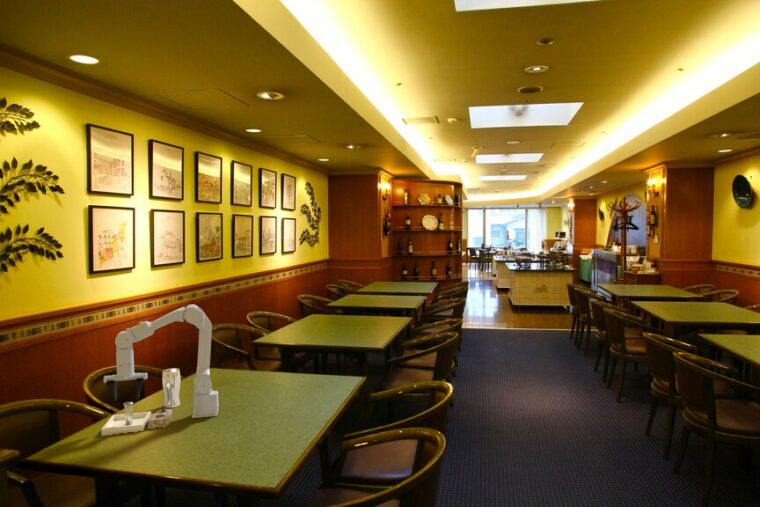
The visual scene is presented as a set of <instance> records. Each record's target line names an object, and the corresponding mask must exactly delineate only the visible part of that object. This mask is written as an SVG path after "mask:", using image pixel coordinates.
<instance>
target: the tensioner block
mask: <svg viewBox="0 0 760 507" xmlns="http://www.w3.org/2000/svg"><path fill="white" fill-rule="evenodd" d="M172 416H173V409H171V408H161V409H159V410H157V411H155V413H151V416H150V418H149V419H148V424H147V429H148V428H150V429H156V428H155V427H159V428H167V427H166V426H168V427H169V425H170V423H171V421H172Z"/></svg>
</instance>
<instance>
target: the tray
mask: <svg viewBox="0 0 760 507" xmlns="http://www.w3.org/2000/svg"><path fill="white" fill-rule="evenodd" d="M151 414H152V411H142V412H132V419H133V424H132V425H125V413H121V414H113V415H112V416H111V417H110V418H109V419H108V420H107V422H105V424H104V425H103V426H102V427H101V429H100V430H101V436H102V437H105V436H113V434H115V435H120V434H119V433H124V434H128V433H127V432H134V433H139V432H138V431H143V432H144V430H145V429H146V427H147V426H148V424H147V423H148V419H149V418H150V416H151ZM145 426H146V427H145ZM144 428H145V429H144Z"/></svg>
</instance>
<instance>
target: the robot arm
mask: <svg viewBox="0 0 760 507" xmlns="http://www.w3.org/2000/svg"><path fill="white" fill-rule="evenodd" d="M184 320H185V322H187V323H189V324H191V325H193V326H195V327H196V328H197V329H198V330H199V332H198V349H197V350H198V351H197V366H196V374H195V376H194V378H193V385H194V390H193V391H192V394H193V395H192V398H193V412H192V415H191V419H198V418H208V417H217V416H218V413H219V409H220V404H219V392H218V391H219V390H213V388H212V387H213V384H212V381H211V378H210V376H211V373H210V368H211V367H210V366H211V350H212V348H211V347H212V333H213V332H212V330H213V324H212V322H211V320H210V319H209V317H208V316H207V315H206V313H205V312H204V310H203V309H202V308H201V307H199V306H198V305H197V304H191V303H190V304H188V305H186V306H182V307H180V308H177V309H175V310H172V311H170V312H169V313H166V314H165V315H162V316H161V317H159V318H157V319H155V320H153V321H148V320H145V321H140V322H138V324H136V325H135V326H133V327H128V328H125V330H122V331H120V332H119V333H117V335H116V337H115V338H114V339H115V340H114V344H115V346H116V348H115V350H116V352H115V355H116V361H115V362H116V374H112V375H104V376H103V383H104V384H105V383H106V385H105V386H106V388H107V389H108V391H109V392H110V394H111V397H112V399H113V402H116V401H117V400H118V391H117V390H118V382H120V381H121V382H123V381H132V380H134V385H135V386H134V387H135V399H136V400H138V399H139V398H140V397H141V396H140V395H141V390H142V388H143V387H142V386H143V384H144V382H145V380H147V379H148V372H135V360H134V349H133V344H134V343H138V342H139V341H142V340H144V339H147V338H148V337H150V336H153V334H154V333H155V331H156V330H157V329H160V328H162V327H164V326H168V324H172V323H173V322H182V323H184Z"/></svg>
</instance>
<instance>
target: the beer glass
mask: <svg viewBox="0 0 760 507" xmlns="http://www.w3.org/2000/svg"><path fill="white" fill-rule="evenodd" d="M162 388H163V393H164V401H165V402H164V408H165V409H171V408H172V409H173V408H176V407H179V406H180V405H181V400H180V389H181V372H180V368H177V367H174V368H173V367H172V368H167V369H164V370H162Z"/></svg>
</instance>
